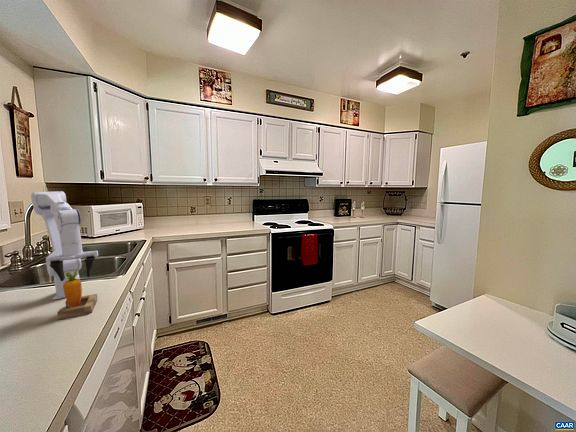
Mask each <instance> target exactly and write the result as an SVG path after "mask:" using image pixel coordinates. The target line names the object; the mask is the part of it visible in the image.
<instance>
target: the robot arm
mask: <svg viewBox="0 0 576 432" xmlns="http://www.w3.org/2000/svg"><path fill="white" fill-rule="evenodd" d="M30 198H31V203H32V206H33V210H34V212H35V214H36V215H39V216H42V219H43V220H44V222H45V226H46V230H47V234H48V237H49V241H50V245H51V249H52V252H51V253H50V254H49V255H47V257H45V263H46V271H47V274H48V275H49V276H51V277H53V281H54V287H55V295H54V297H52V300H58V299H59V300H60V299H64V298H65V299H66V297H65V294H64V289H63V284H64V283H65V282H66V281H67V280H69V279H67V276H66V274H65V272H67V271H68V272H69V273H70V274H71V275H74V272H75V270H78V271H77V273H78V275H76V277H75V279H80V273H79V270H81V269H82V259H84V263H85V266H86V267H85V268H86V275H87V277H86V278H88V277H89V278H90V277H91V275H92V270H93V269H92V268H93V264H94V261H95V259H96V258H97V257H98V256H99V251H98V250H89V251H83V243H82V236H81V228H80V225H81V224H82V223H81V222H82V216H81V213H80V210H79V208H72V207H71V205H70V204H69V203H68V202H67V196H66V193H65V192H64V191H62V190H59V191H32V192H31V197H30ZM80 280H81V279H80ZM83 288H84V286H83V285H82V290H83Z"/></svg>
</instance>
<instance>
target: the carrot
mask: <svg viewBox="0 0 576 432" xmlns="http://www.w3.org/2000/svg"><path fill="white" fill-rule="evenodd" d="M77 271H79V270H75V272H74V275H71V274H70V273H69V272H68V271H67V272H65V274H66V276H67V279H69V280H67V281H66V282H65V283H64V284H63V289H64V294H65V297H66V298H65V301H66V300H67V302H68V304H69V305H70V307H69V308H72V307H77V306H80V305H79V304H80V301H81V297H82V295H83V289H82V286H83V285H82V280H81V279H75V277H76V275H78V273H79V272H78V273H77Z"/></svg>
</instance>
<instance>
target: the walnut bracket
mask: <svg viewBox="0 0 576 432" xmlns="http://www.w3.org/2000/svg"><path fill="white" fill-rule="evenodd" d="M98 300H99V299H98V294H97V293H95V294H88V295H84V296H81V301H80V304H79V306H77V307H72V308H71V307H70V305H69V304H68V302H67V300H66V299H65V303H64V304H65V307H66V308H63V309H59V310H58V311H57V320H63V319H64V320H65V319H67V318H72V317H77V316H78V317H79V316H82V315H87V314H93V311H94V309H95V308H96V307H95V306H96V305H97V302H98Z"/></svg>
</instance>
